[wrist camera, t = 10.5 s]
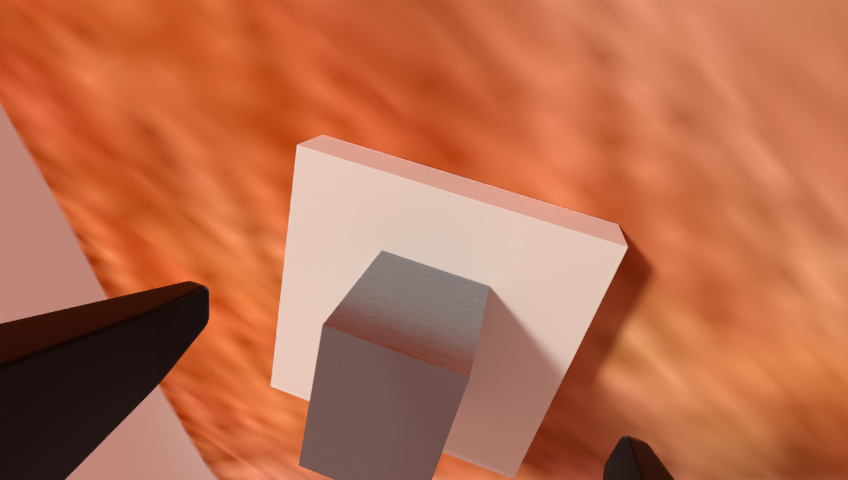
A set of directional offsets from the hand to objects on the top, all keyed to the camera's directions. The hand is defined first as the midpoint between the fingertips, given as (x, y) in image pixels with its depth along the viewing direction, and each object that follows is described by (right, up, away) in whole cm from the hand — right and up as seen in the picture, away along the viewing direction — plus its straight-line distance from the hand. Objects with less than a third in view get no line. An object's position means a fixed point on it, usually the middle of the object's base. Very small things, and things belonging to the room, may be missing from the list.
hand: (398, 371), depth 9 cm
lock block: (0, -2, +12) cm, 12 cm away
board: (+1, -1, +14) cm, 14 cm away
